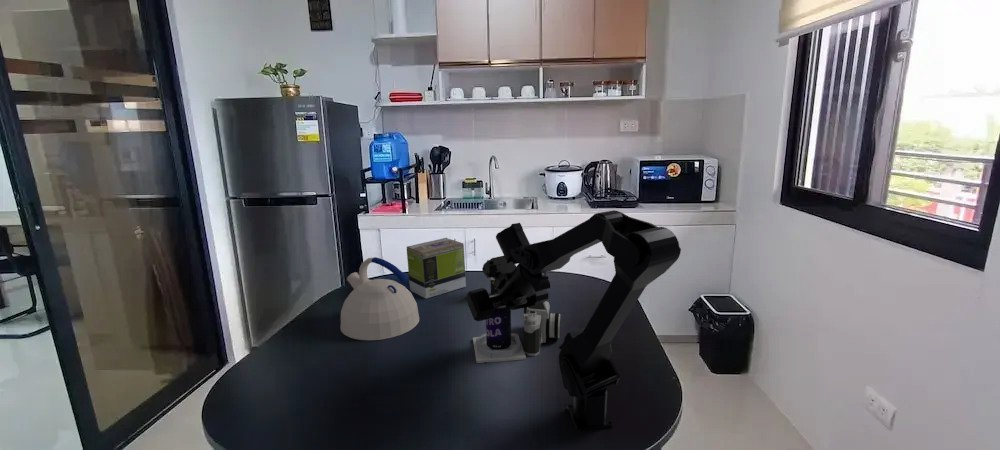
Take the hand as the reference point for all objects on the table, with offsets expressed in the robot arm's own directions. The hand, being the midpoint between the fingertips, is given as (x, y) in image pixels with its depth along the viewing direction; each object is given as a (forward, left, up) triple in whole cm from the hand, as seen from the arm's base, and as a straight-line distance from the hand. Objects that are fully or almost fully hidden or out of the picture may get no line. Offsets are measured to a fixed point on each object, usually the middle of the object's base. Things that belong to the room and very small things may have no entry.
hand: (494, 312), depth 106 cm
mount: (-1, -1, -9) cm, 9 cm away
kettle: (+18, +28, -9) cm, 35 cm away
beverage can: (-1, -1, -8) cm, 8 cm away
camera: (+1, -11, -9) cm, 15 cm away
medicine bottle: (+29, -7, -9) cm, 31 cm away
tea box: (+40, +13, -9) cm, 43 cm away
